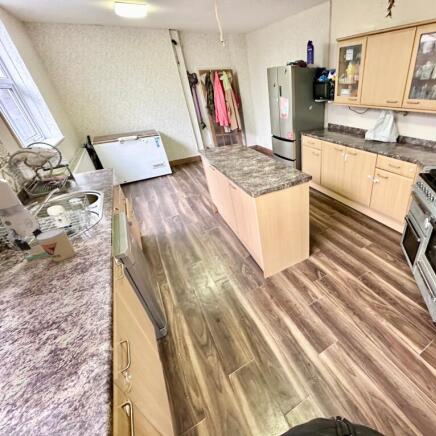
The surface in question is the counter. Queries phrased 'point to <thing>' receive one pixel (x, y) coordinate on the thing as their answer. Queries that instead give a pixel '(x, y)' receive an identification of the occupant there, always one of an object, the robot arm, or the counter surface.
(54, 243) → the coffee cup
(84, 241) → the counter surface
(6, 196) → the robot arm
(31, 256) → the light green flat piece
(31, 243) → the bowl
